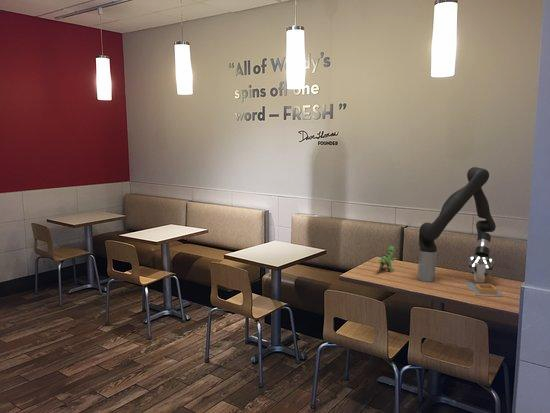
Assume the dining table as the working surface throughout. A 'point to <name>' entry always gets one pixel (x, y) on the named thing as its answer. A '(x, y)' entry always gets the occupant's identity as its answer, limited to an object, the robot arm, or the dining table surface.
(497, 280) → the dining table surface
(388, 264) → the toy
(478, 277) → the brushed metal pillar
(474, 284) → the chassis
